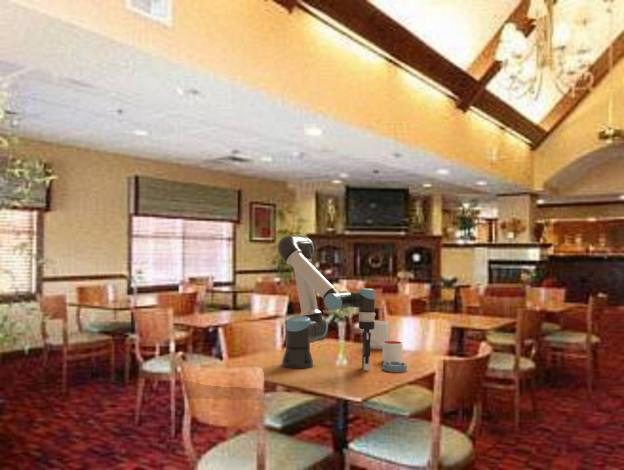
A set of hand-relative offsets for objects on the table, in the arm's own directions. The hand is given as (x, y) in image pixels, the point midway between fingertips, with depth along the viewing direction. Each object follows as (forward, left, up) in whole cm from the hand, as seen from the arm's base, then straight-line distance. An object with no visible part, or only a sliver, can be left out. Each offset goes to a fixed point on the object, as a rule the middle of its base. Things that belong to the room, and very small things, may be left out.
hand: (366, 368), depth 282 cm
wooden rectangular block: (0, 0, 0) cm, 0 cm away
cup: (+15, +19, -1) cm, 24 cm away
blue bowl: (+14, 0, 0) cm, 14 cm away
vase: (+12, +60, -1) cm, 61 cm away
